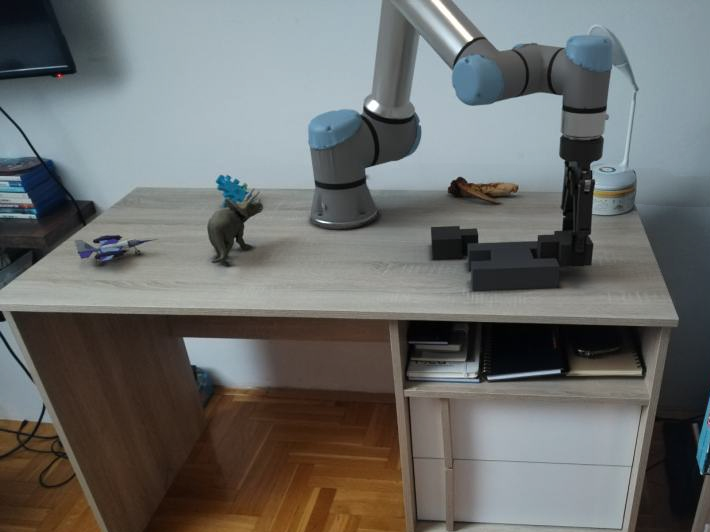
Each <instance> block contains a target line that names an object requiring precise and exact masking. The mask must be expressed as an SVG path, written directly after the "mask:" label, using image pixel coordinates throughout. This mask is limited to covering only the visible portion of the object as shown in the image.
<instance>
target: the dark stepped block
mask: <svg viewBox="0 0 710 532" xmlns="http://www.w3.org/2000/svg"><path fill="white" fill-rule="evenodd" d="M569 232H573V230H564V231H562V230H553V234H537V240H536V241H537V258H538V259H545V258H556V259H557V261H558V263H559V266H560V268H567V267H569V257H570V244H571V235H570V234H569ZM593 254H594V242H593V240H592V239H591V237H590V235H587V240H586V250H585V261H584V266H583V267H591V266H592V264H593ZM569 268H570V267H569Z"/></svg>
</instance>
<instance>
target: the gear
mask: <svg viewBox="0 0 710 532" xmlns="http://www.w3.org/2000/svg"><path fill="white" fill-rule="evenodd" d="M214 182H215V184H218V185H217V186H216V189H217V190H218V191H221V192H222V193H221V194H222V197H223V198H225V199H226V198H228V199H230V200H231V201H232V202H234V203H236V204H237V203H241V202H242V201H243V200H244V198H245V196H246V195H247V194H248V193H250V192H251V191H247V190H248V186H249V185H248V184H247V183H246V182H244V183H243V184H242V185H240V183H241V182H240V180H239V179H238V178H234V180H233V181H232V176H231V175H229V174H226V175H225V176H224V175H223V174H219V175H218V177H217V178H216V180H214ZM252 196H253V193H252V194H251V195H250V197H249V199H250V198H251V197H252ZM249 199H248V200H249ZM254 202H255V199H254V200H253V201H252V203H254ZM221 205H222V206H223V207H227V205H226V203H225V201H223V202H222V203H221Z"/></svg>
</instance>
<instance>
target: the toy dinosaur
mask: <svg viewBox="0 0 710 532" xmlns="http://www.w3.org/2000/svg"><path fill="white" fill-rule="evenodd" d="M255 189H256V188H253V189H251V190H250V191H249V192H250V193H248V194H247V195H246V196H245V198H244V200H243V201H242V202H241V203H240V202H238V203H237V202H236V203H234V202H232V201H231V200H230V199H228V198H224V197H223V198H224V201H225V203H226V207H227V208H223V209H220V210H216V211H215V212H214V213H213V214H212V216H211V217H210V218H209V219H208V223H207V226H206V229H207V236H208V240H209V242H210V244H211V246H212V247H213V249H214V250H215V252H216V255H214V257H213V258H214V259H213V260H211V264H221V265H223V266H226V267H230V266H231V263H230V262H229V261H228V260H227V259H228V255H229V254H230V252H231V251H232V249H233V247H234V245H235V242H236V243H237V244H238V246H239V247H240V249H241V250H243V251H248V250H250V248H252V244H249V243H246V242H245V240H244V233H245V232H244V231H245V227H246V226H245V223H246V222H247V221H248V220H250V219H251V218H252V217H255V216H256V215H258V214H261V213H262V211H263V210H264V204H263V203H262V202H261V198H258V199H257V200H256V201H255V199H256V198H257V197H258V196H259V194H260V189H259V190H258V191H257V192H256V193H255V194H254V195H253V193H254V191H255ZM251 194H252V197H251V198H250V199H249V197H250V195H251ZM248 199H249V200H248ZM253 200H254V202H253V203H252V201H253ZM224 201H223V202H224Z"/></svg>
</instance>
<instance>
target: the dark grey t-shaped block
mask: <svg viewBox="0 0 710 532" xmlns="http://www.w3.org/2000/svg"><path fill="white" fill-rule="evenodd" d="M430 237H431V239H430V240H431V242H430V243H431V257H432V258H431V259H432V260H433V261H435V260H436V261H439V260H462V259H463V256H468V243H479V232H478V228H461V226H460V225H446V226H445V225H444V226H443V225H442V226H430Z"/></svg>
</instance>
